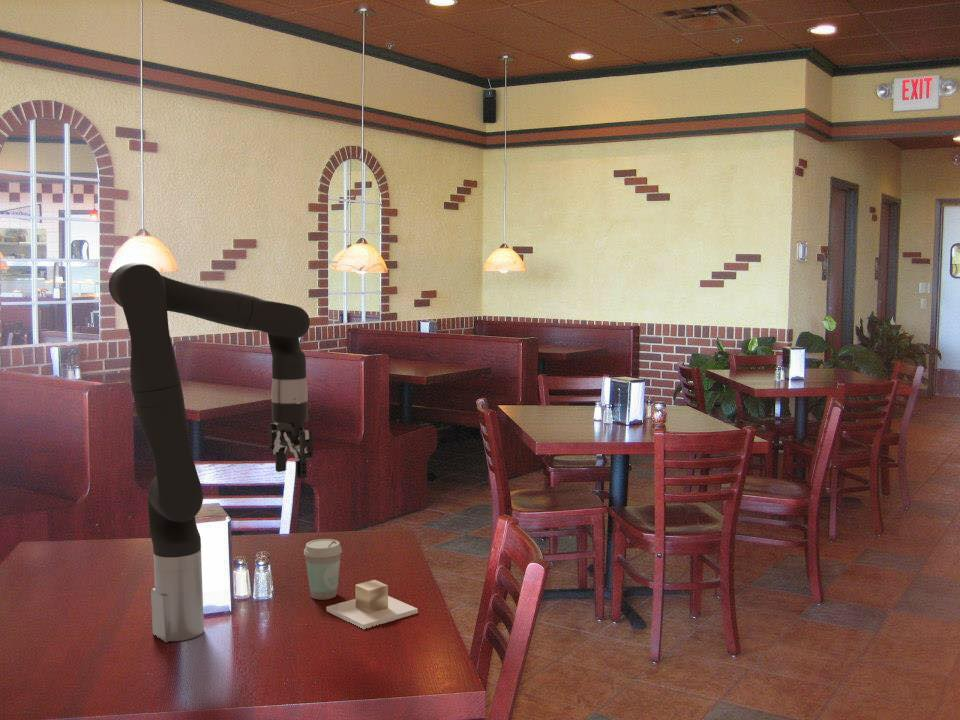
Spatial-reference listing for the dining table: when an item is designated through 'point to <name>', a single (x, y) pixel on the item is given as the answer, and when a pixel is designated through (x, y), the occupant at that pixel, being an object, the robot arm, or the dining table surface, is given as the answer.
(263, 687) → the dining table surface
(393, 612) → the plate
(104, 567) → the dining table surface
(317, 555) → the coffee cup
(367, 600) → the maple cube
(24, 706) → the dining table surface
